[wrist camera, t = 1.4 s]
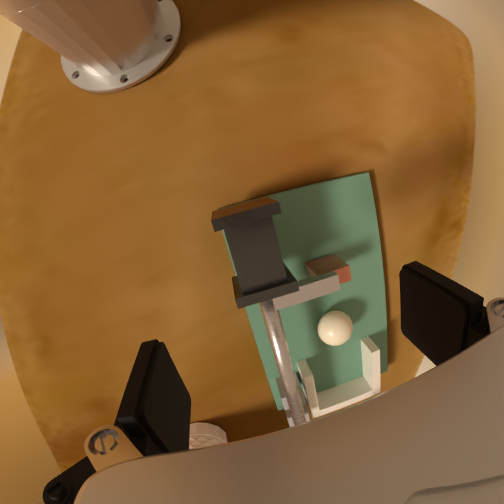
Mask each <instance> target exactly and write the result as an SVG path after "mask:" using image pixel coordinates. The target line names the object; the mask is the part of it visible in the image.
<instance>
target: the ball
mask: <svg viewBox="0 0 504 504" xmlns="http://www.w3.org/2000/svg"><path fill="white" fill-rule="evenodd" d="M352 331H353V325H352V321H351V319H350V317H349V316H348V315H347V314H346V313H344V312H342V311H330V312H328V313H326V314H325V315H323V316H322V318H321V319H320V321H319V323H318V334H319V337H320V338H321V340H322V341H323V342H324V343H326V344H328V345H331V346H338V345H341V344H343V343H345V342H346V341H347V340H348V339H349V338H350V336H351V334H352Z"/></svg>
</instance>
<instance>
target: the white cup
mask: <svg viewBox="0 0 504 504" xmlns="http://www.w3.org/2000/svg"><path fill="white" fill-rule="evenodd" d="M224 443H228V439H227V435H226V432H225V431H224V430H222V429H221V428H220V427H219V426H216V425H213V424H210V423H201V422H196V423H192V424H190V436H189V449H195V448H202V447H208V446H213V445H219V444H224Z"/></svg>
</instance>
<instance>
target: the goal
mask: <svg viewBox="0 0 504 504" xmlns="http://www.w3.org/2000/svg"><path fill="white" fill-rule="evenodd" d="M361 351H362V366H363V376H361V377H359V378H356V379H354V380H351V381H349V382H346V383H343V384H341V385H338V386H335V387H333V388H330V389H327V390H324V391H321V392H319V393H316V389H315V384H314V379H313V374H312V372H311V370H310V368H309V366H308V364H307V362H306V360H305V359H303V360H300V361H297V366H298V370H299V374H300V378H301V383H302V387H303V391H304V396H305V400H306V403H307V406H308V409H309V411H310V414H311V416H312V418H315V417H318V416H321V415H324V414H326V413H329V412H332V411H335V410H338V409H340V408H343V407H345V406H348V405H351V404H353V403H356V402H358V401H361V400H363V399H365V398H368V397H370V396H372V395H375V394H377V393H379V392H380V349H379V348H378V347H377V346H376V344H375V343H374V342H373V341H372V340H371V339H370V338H369V336H367V337H365V338H362V339H361Z"/></svg>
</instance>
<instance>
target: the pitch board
mask: <svg viewBox="0 0 504 504" xmlns="http://www.w3.org/2000/svg"><path fill="white" fill-rule="evenodd" d="M267 196H268V197H270V198H272V199H274V200H276V201H279V204H280V208H281V212H282V213H281V214H277V215H273V216H272V218H273V222H274V226H275V230H276V235H277V239H278V243H279V247H280V251H281V255H282V259H283V262H284V264H285V265H286V266H287V268H288V269H289V270H290V272H291V273H292V274H293V276H294V277H295V278H296V280H297V281H299V280H302V279H306V278H308V276H307V273H306V268H305V262H308V261H311V260H315V259H318V258H321V257H324V256H328V255H331V254H334V255H336V256H337V257H339V258H340V259H341V260H343V261H344V262H345V263H347V264H348V265H349V266H350V272H351V279H352V280H351V281H348V282H345V283H342V284H340V290H339V291H336V292H333V293H330V294H327V295H324V296H321V297H318V298H314V299H311V300H308V301H305V302H302V303H299V304H295V305H292V306H289V307H286V308H282V309H279V312H280V316H281V320H282V324H283V328H284V332H285V336H286V340H287V344H288V348H289V352H290V356H291V360H292V364H293V368H294V372H295V377H296V381H297V385H298V389H299V393H300V397H301V401H302V405H303V409H304V414H305V418H306V422H309V421H310V419H309V414H308V411H307V408H306V406H305V404H306V400H305V396H304V391H303V387H302V383H301V378H300V374H299V370H298V366H297V361H300V360H303V359H305V360H306V362H307V364H308V366H309V368H310V370H311V372H312V374H313V379H314V384H315V389H316V393H319V392H321V391H324V390H327V389H330V388H333V387H335V386H338V385H341V384H343V383H346V382H349V381H351V380H354V379H356V378H359V377H361V376H363V366H362V351H361V339H362V338H365V337H367V336H369V338H370V339H371V340H372V341H373V342H374V343H375V344H376V346H377V347H378V348H379V349H380V374H381V373H383V372H386V371H387V366H388V349H387V314H386V297H385V283H384V272H383V262H382V252H381V244H380V236H379V229H378V222H377V215H376V209H375V203H374V197H373V191H372V186H371V180H370V175H369V172H363V173H358V174H354V175H349V176H345V177H340V178H336V179H332V180H328V181H323V182H319V183H315V184H311V185H307V186H303V187H299V188H295V189H291V190H287V191H283V192H279V193H275V194H271V195H267ZM267 196H264V197H267ZM260 198H263V197H260ZM256 199H259V198H256ZM256 199H253V200H256ZM249 201H252V200H249ZM245 202H248V201H245ZM245 202H242V203H245ZM238 204H241V203H238ZM234 205H237V204H234ZM234 205H231V206H234ZM227 207H230V206H227ZM227 207H224V208H227ZM220 209H223V208H220ZM220 209H217V210H220ZM222 231H223V234H224V237H225V241H226V244H227V248H228V251H229V255H230V258H231V261H232V265H233V268H234V271H235V275H236V276H237V273H236V270H235V266H234V263H233V260H232V256H231V253H230V249H229V246H228V242H227V239H226V236H225V232H224V229H223V230H222ZM245 308H246V311H247V314H248V318H249V321H250V324H251V327H252V331H253V334H254V337H255V340H256V343H257V347H258V350H259V353H260V356H261V359H262V362H263V366H264V369H265V372H266V375H267V378H268V381H269V384H270V387H271V390H272V394H273V397H274V400H275V403H276V406H277V409H278V410H282V409H284V410H285V413H286V416H287V419H288V423H289V426H290V427H293V426H294V423H293V420H292V416H291V413H290V409H289V406H288V402H287V399H286V395H285V392H284V389H283V385H282V382H281V378H280V375H279V371H278V368H277V364H276V361H275V357H274V354H273V350H272V347H271V343H270V340H269V336H268V333H267V329H266V326H265V322H264V319H263V315H262V311H261V308H260V304H259V303H257V304H253V305H250V306H246V307H245ZM330 311H342V312H344V313H346V314H347V315H348V316H349V317H350V319H351V321H352V325H353V331H352V334H351V336H350V338H349V339H348V340H347V341H346V342H345V343H343V344H341V345H338V346H331V345H328V344H326V343H324V342H323V341H322V340H321V338H320V337H319V334H318V323H319V321H320V319H321V318H322V316H323V315H325V314H326V313H328V312H330Z"/></svg>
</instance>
